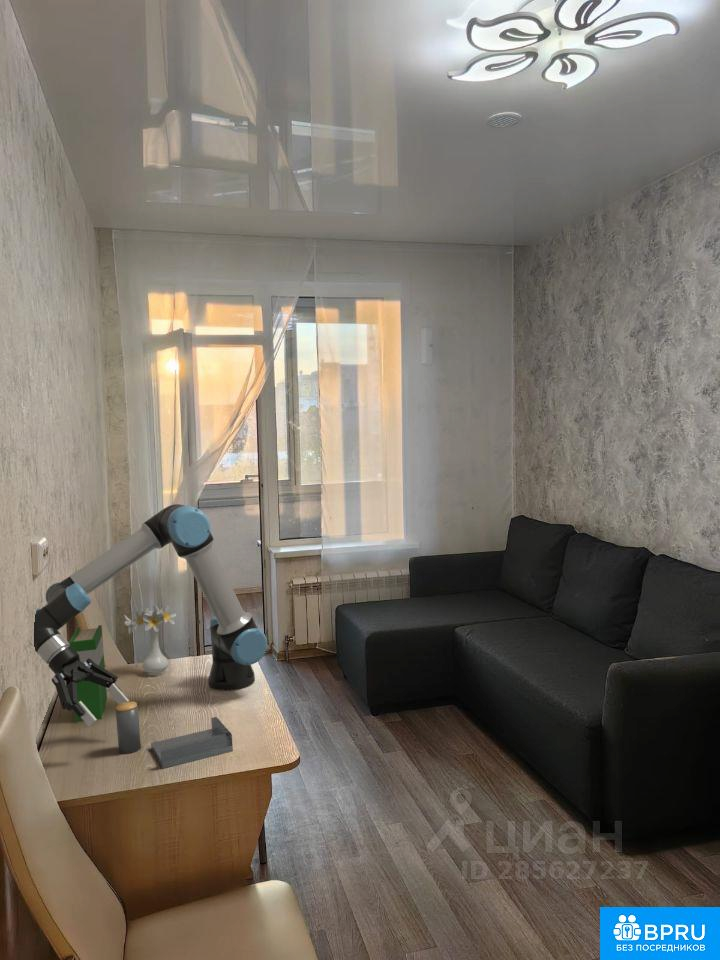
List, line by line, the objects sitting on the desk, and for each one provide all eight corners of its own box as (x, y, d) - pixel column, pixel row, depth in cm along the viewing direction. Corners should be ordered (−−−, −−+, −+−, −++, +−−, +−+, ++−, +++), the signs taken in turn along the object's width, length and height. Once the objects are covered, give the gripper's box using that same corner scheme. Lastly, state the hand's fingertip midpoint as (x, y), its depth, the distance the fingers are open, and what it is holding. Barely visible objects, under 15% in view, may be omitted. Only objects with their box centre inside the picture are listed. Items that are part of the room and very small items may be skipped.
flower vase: (127, 673, 261) (122, 607, 259) (177, 665, 267) (173, 600, 266) (129, 683, 249) (124, 614, 248) (182, 674, 256) (177, 607, 254)
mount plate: (217, 732, 203) (216, 716, 203) (232, 751, 191) (231, 734, 190) (151, 748, 195) (150, 732, 195) (162, 768, 183) (161, 751, 182)
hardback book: (82, 702, 234) (76, 627, 232) (107, 698, 235) (101, 625, 234) (74, 722, 217) (68, 642, 215) (101, 718, 218) (95, 639, 217)
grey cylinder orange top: (138, 742, 199) (135, 699, 198) (142, 750, 194) (139, 706, 193) (117, 747, 197) (113, 704, 196) (120, 755, 192) (117, 710, 191)
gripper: (82, 650, 212) (130, 705, 208) (17, 679, 188) (70, 741, 185) (96, 633, 210) (145, 688, 206) (32, 660, 186) (86, 722, 183)
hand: (110, 713), depth 196 cm, fingers open, 13 cm apart
